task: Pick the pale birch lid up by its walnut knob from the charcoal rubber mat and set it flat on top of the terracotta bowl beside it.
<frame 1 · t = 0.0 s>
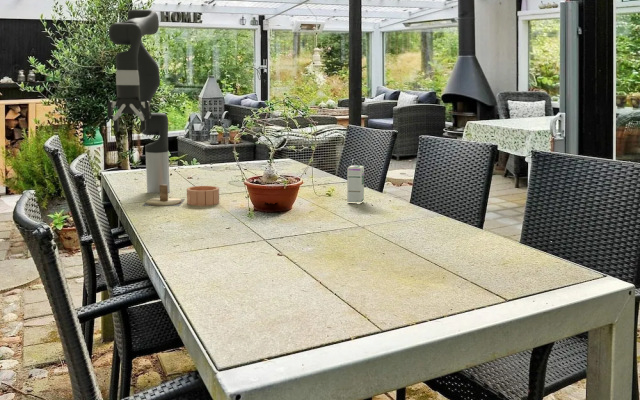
hand: (130, 131, 222), 29 cm above the table, fingers open, 8 cm apart
syrup box: (355, 203, 254), on the table
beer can: (271, 203, 251), on the table
lid: (164, 202, 248), resting on mat
bowl: (203, 203, 249), on the table
mat: (164, 203, 248), on the table
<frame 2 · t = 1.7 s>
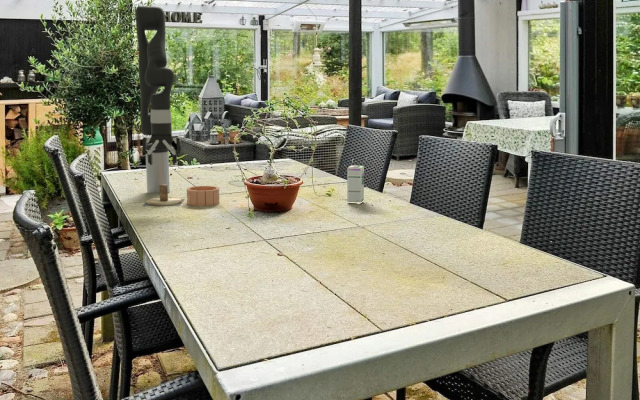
hand: (162, 164, 245), 15 cm above the table, fingers open, 8 cm apart
nothing on the table moved.
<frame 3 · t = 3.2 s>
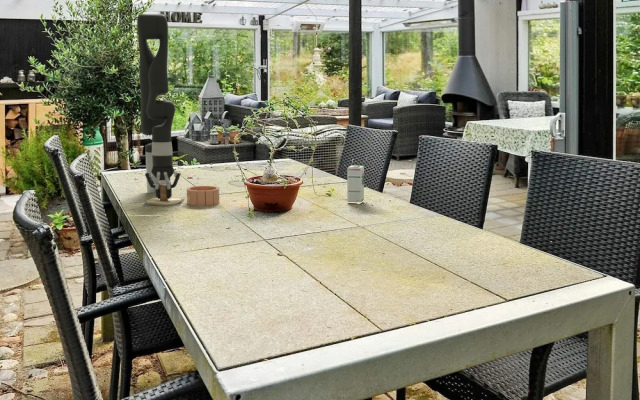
hand: (163, 198, 247), 2 cm above the table, fingers closed on lid, 3 cm apart
lid: (164, 202, 248), resting on mat, touching gripper
everything else where it was.
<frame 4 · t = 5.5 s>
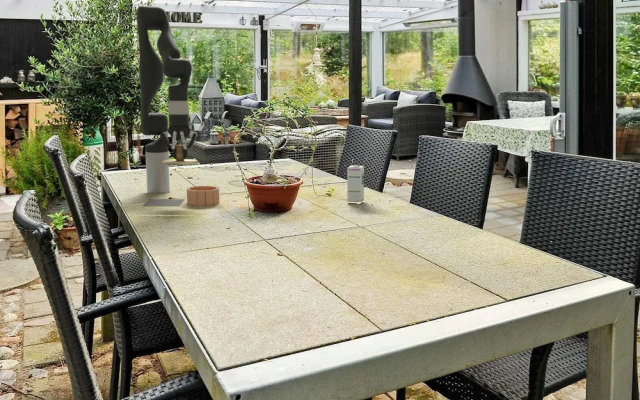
hand: (180, 158, 244), 17 cm above the table, fingers closed on lid, 3 cm apart
lid: (180, 163, 245), point 16 cm above the table, touching gripper
everything else where it was.
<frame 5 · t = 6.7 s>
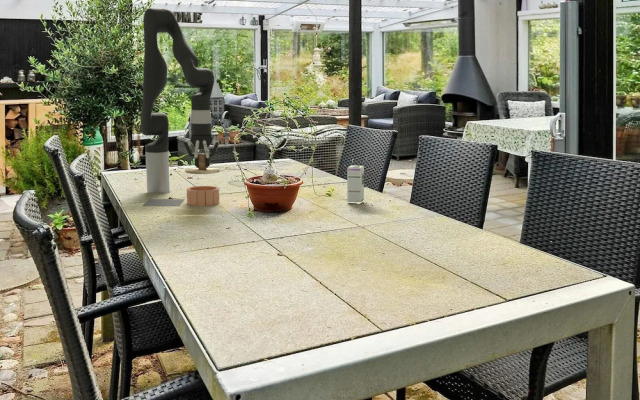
hand: (202, 167, 246), 14 cm above the table, fingers closed on lid, 3 cm apart
lid: (202, 171, 246), point 13 cm above the table, touching gripper
everything else where it was.
when the fingers open (9 cm above the table, at t = 7.8 s): lid drops 1 cm, resting on bowl.
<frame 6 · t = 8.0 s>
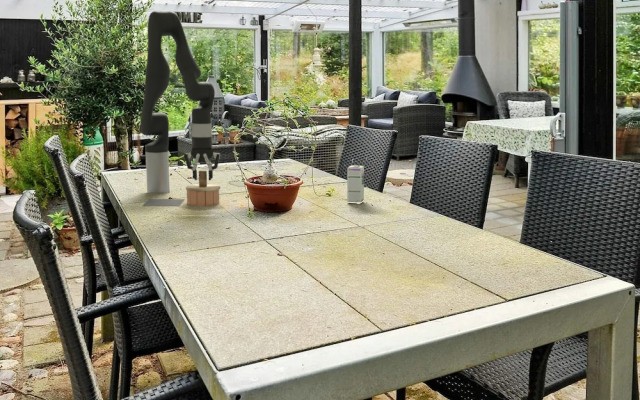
hand: (202, 179, 247), 9 cm above the table, fingers open, 4 cm apart
lid: (203, 188, 247), point 6 cm above the table, touching bowl
everything else where it was.
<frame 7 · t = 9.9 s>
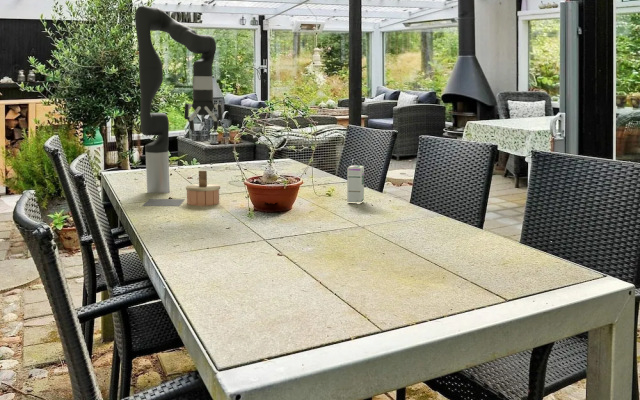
hand: (203, 130, 250), 28 cm above the table, fingers open, 8 cm apart
nothing on the table moved.
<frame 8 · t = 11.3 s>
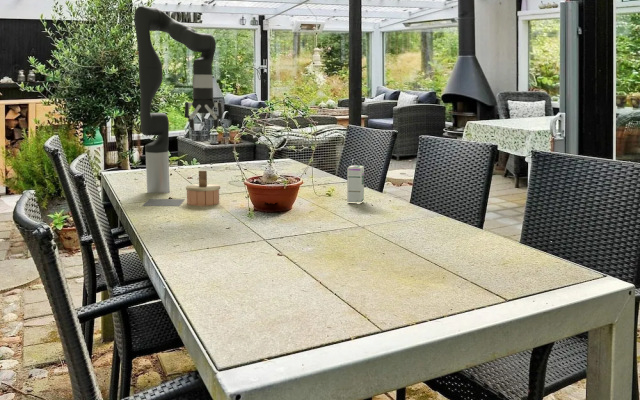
hand: (204, 129, 250), 28 cm above the table, fingers open, 8 cm apart
nothing on the table moved.
at the end: lid 0.1 cm off-centre on the bowl, point 6.0 cm above the bowl's base; lid tilted 0°; the gripper is holding nothing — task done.
